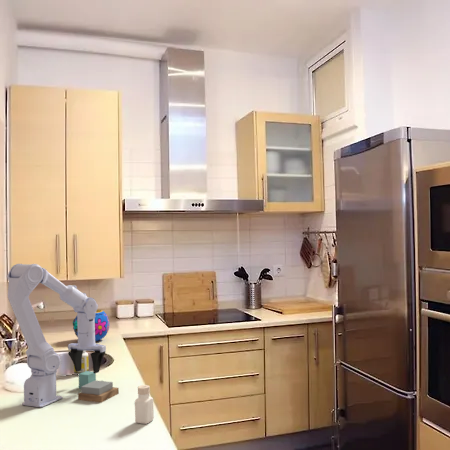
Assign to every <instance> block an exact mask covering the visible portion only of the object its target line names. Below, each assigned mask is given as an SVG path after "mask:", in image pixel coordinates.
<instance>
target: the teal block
mask: <svg viewBox="0 0 450 450" xmlns="http://www.w3.org/2000/svg"><path fill="white" fill-rule="evenodd" d="M95 380H96V381H97V373H94V372H93V371H91V370H90V371H85V372H83V373H80V374H79V375H78V389H80V390H81V387H82V386H84V385H86V384H88V383H90V382H93V381H95Z"/></svg>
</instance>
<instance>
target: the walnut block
mask: <svg viewBox="0 0 450 450" xmlns="http://www.w3.org/2000/svg"><path fill="white" fill-rule="evenodd" d="M117 395H119V387H114V386H113V388H112V389H110V390H108V391H106V392H104V393H102V394H100V395H95V394H86V393H81V392H78V393H77V397H78V399H77V400H78V401H87V402H93V403H94V402H95V403H101V404H102V403H104V402H106V401H108V400H109V399H111V398H113V397H115V396H117Z"/></svg>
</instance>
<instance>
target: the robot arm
mask: <svg viewBox="0 0 450 450" xmlns="http://www.w3.org/2000/svg"><path fill="white" fill-rule="evenodd" d="M6 278H7V281H8V287H7V299H8V302H9V304H10V306H11V309H12V311H13V314H14V315H15V319H16V321H17V324H18V326H19V328H20V331H21V334H22V336H23V337H24V340H25V343H26V345H27V349H26V351H25V354H26V357H27V358H26V359H27V360H26V364H27V367H28V368H29V369H30V372H31V375H30V377H28V378H27V379H26V380H25V381H24V382H23V402H22V403H21V404H22V406H28V407H37V408H44V407H46V406H48V405H51V404H52V403H53V404H54V403H55V402H56V401H59V400H62V399H63V396H62V395H57V372H58V369H59V368H60V366H61V362H62V361H61V357H60V355H59V354H58V353H57V352H56V351H55V350H54V347H53V346H52V345H51V344H50V343H49V342H48V341H47V340H46V338H45V335H44V333H43V330H42V328H41V325H40V322H39V320H38V318H37V315H36V313H35V310H34V308H33V305H32V302H31V300H30V295H31V294H32V293H33V291H34V290H35V288H36V287H37V286H38V285H39V284H41V285H44V286H45V287H46V288H49V289H50V290H52V291H53V292H55V293H57V294H58V295H59V299H60V300H61V301H62V302H64V303H65V304H67V305H68V306H70V307H71V308H73V309H72V310H73V311H74V312H75V313H76V316H77V325H78V337H77V343H76V342H75V343H73V342H71V343H69V344H67V350H68V356H69V357H70V359H71V361H72V363H73V368H74V367H75V370H76V372H78V371H80V370H81V367H82V353H83V350H85V351H86V352H91V353H90V355H89V356H90V358H91V361H92V369H93V371H92V372H94V373H96V374H97V373H100V369H101V364H102V361H103V359H104V358H105V357H104V356H105V355H106V352H107V348H106V347H107V345H103V344H98V343H96V341H95V313H96V311H97V310H99V304H98V303H97V301H96V299H95V298H93V297H88V296H87V293H85V292H82V291H80V290H79V289H78V286H77V285H75V284H73V285H71V284H68V285H65V283H64V282H61V280H59V279H58V278H57V277H55V276H54V275H53V274H52V273H50V272H49V271H48V270H47V269H46V268H44V267H42V266H41V265H40V264H38V263H31V264H30V263H29V264H27V263H24V264H23V263H16V264H14V265H12V267H11V268H10V269H9V272H8V273H7V275H6Z"/></svg>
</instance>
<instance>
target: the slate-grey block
mask: <svg viewBox="0 0 450 450" xmlns="http://www.w3.org/2000/svg"><path fill="white" fill-rule="evenodd" d="M113 383H114V382H113V381H103V380H97V379H96V380H95V381H93V382H90V383H88V384H86V385H84V386H82V387H81V389H80V391H81V393H86V394H95V395H100V394H102V393H104V392H106V391H108V390H110V389H112V388H113V387H114V386H113V385H114V384H113Z"/></svg>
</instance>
